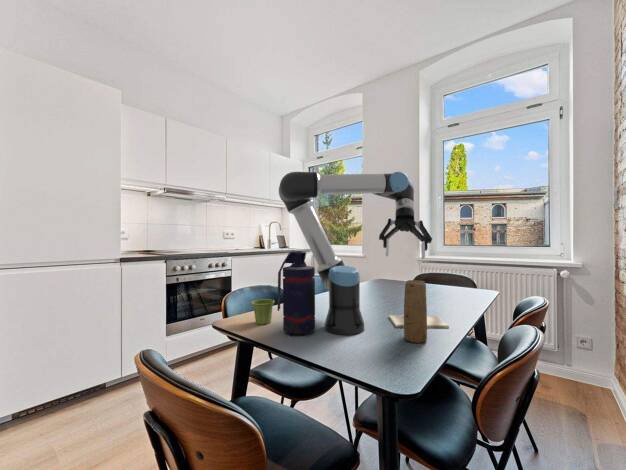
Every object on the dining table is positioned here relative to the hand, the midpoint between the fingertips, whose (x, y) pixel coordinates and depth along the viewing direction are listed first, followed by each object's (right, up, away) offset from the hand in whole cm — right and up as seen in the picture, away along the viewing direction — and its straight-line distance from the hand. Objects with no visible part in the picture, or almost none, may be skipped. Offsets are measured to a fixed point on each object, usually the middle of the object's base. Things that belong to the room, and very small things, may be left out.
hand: (405, 256), depth 117 cm
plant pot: (-56, -28, +8) cm, 63 cm away
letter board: (+7, -28, +7) cm, 29 cm away
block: (0, -28, -12) cm, 31 cm away
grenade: (-42, -28, -4) cm, 50 cm away
